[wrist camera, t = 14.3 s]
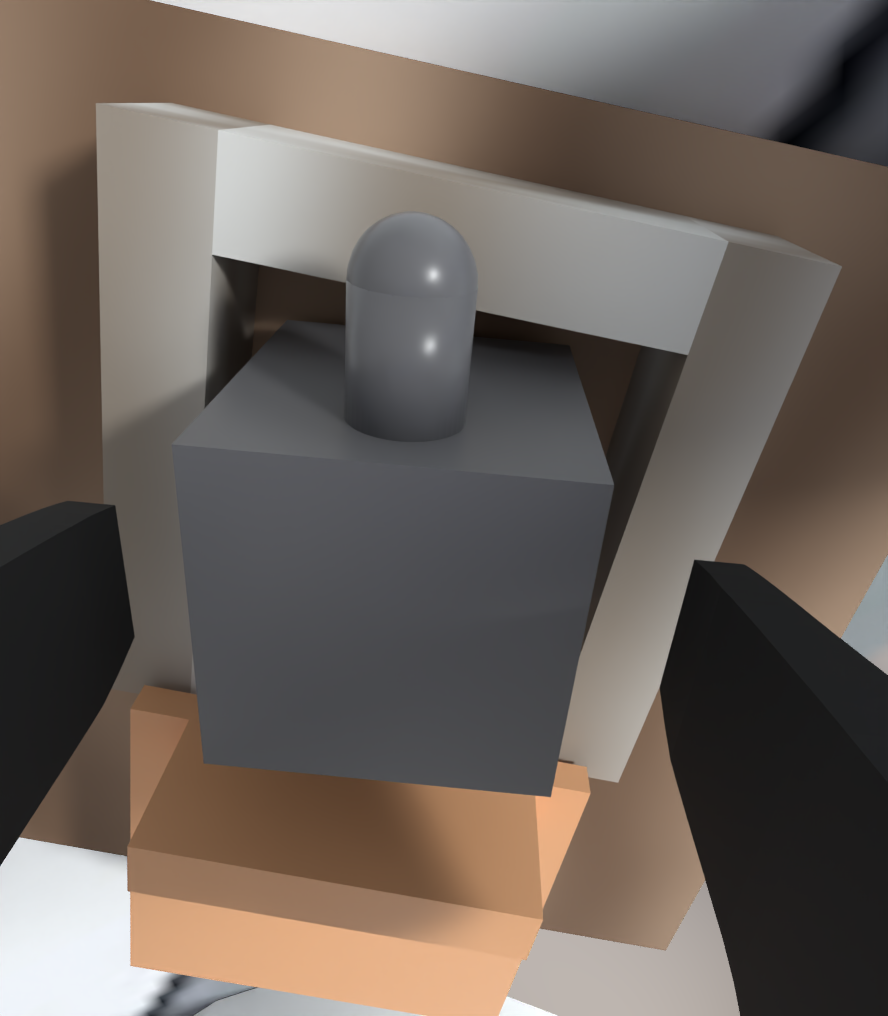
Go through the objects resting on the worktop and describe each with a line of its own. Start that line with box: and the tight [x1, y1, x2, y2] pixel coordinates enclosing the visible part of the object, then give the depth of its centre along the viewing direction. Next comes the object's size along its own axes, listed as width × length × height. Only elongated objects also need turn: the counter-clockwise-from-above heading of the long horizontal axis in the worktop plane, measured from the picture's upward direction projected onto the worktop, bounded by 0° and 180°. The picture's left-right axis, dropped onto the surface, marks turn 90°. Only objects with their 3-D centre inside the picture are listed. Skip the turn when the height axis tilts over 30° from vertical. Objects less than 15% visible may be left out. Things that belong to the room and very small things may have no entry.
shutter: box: [127, 685, 591, 1016], centre depth 14 cm, size 8×8×3 cm
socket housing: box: [0, 0, 888, 950], centre depth 15 cm, size 18×19×4 cm
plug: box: [172, 211, 614, 797], centre depth 11 cm, size 4×7×6 cm
